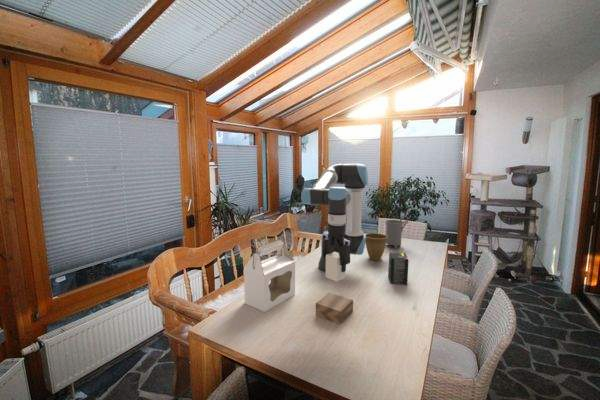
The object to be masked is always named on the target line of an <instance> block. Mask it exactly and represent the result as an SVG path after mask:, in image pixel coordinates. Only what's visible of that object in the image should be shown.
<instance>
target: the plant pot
mask: <svg viewBox="0 0 600 400" xmlns="http://www.w3.org/2000/svg"><path fill="white" fill-rule="evenodd" d="M364 235H365V236H366V242H365V247H366V251H367V255H368V257H369V259H370V260H372V261H380V260H381V259H382V257H383V255H384V252H385V248H386V246H387V245H386V244H387V243H386V242H387V236H386V234H383V233H364Z"/></svg>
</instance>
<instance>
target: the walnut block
mask: <svg viewBox="0 0 600 400" xmlns="http://www.w3.org/2000/svg"><path fill="white" fill-rule="evenodd" d="M353 313H354V300H353V299H351V298H348V297H344V296H342V295H338V294H336V293H331V292H328V293H327V294H326V295H324V296H323V297H322V298H320V299H319V300H318V301H317V302H316V303H315V316H316V317H319V318H322V319H325V320H327V321H330V322H333V323H335V324H338V325H341V324H342V323H344V322H345V321H346V320H347V318H348V317H349V316H351V314H353Z"/></svg>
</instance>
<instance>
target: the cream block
mask: <svg viewBox="0 0 600 400" xmlns="http://www.w3.org/2000/svg"><path fill="white" fill-rule="evenodd" d="M339 264H341V262H340V257H339V253H338V252H332V253H330V254H327V255H326V271H325V278H327V279H329V280H333V282H334V281H335V282H338V281H340V279H339ZM345 278H346V271H345V272H344V278H343V279H345Z"/></svg>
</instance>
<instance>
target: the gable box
mask: <svg viewBox="0 0 600 400" xmlns="http://www.w3.org/2000/svg"><path fill="white" fill-rule="evenodd" d="M275 251H276V254H275V255H273V256H271V257H268V258H266V259H264V260H261V257H262V256H265V255H267V254H270V253H273V252H275ZM243 281H244V282H243V283H244V286H243V287H244V288H243V289H244V304H246V305H247V306H250V307H252V308H255V309H257V310H258V311H261V312H263V313H265V312H267V311H269V310H271V309H273V308H274V307H276V306H278V305H279V304H281V303H283V302H284V301H286V300H287V299H289V298H291V297H293V296H295V294H296V260H295V259H294V257H293V256H292V254H291V252H290V251H289V250H288V248H287V247H286V244H285V242H284V241H282V239H278V240H274V241H272V242H268V243H265V244H263V245H259V246H257V248H256V253H253V254H252V255H251V257H250V258H249V260H248V262H247V263H246V265H245V266H244V267H243Z"/></svg>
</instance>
